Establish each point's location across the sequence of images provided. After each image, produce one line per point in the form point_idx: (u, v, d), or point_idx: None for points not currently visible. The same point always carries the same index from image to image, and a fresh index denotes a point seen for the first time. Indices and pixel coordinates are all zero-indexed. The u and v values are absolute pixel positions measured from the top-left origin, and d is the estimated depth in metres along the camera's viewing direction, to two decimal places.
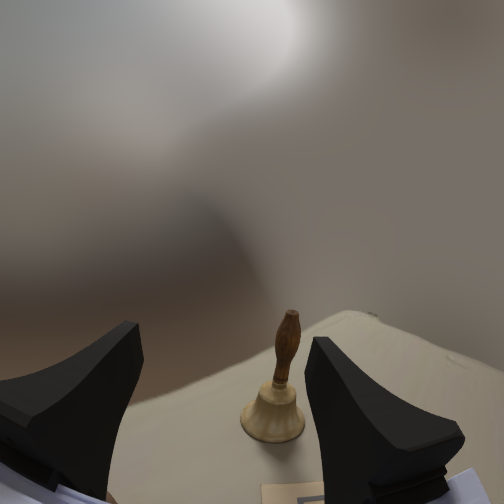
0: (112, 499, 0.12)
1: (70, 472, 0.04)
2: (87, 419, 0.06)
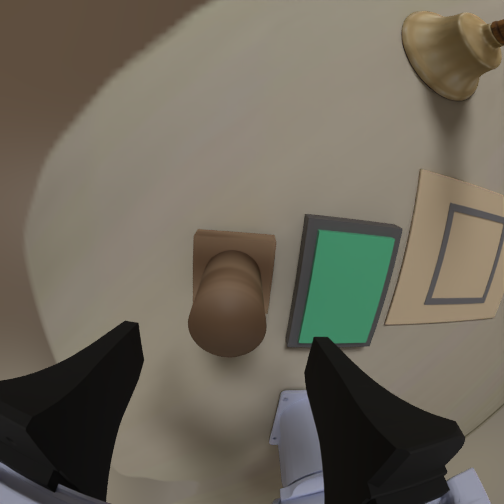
0: (259, 312, 0.13)
1: (70, 472, 0.04)
2: (87, 419, 0.06)
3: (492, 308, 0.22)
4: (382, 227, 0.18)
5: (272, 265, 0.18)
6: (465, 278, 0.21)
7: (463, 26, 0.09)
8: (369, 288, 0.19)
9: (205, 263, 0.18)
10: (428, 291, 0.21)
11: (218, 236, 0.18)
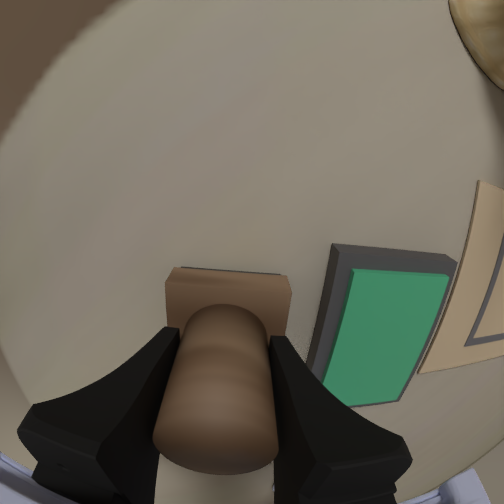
0: (268, 436, 0.06)
1: (129, 492, 0.05)
2: (141, 433, 0.06)
3: None
4: (435, 261, 0.12)
5: (285, 324, 0.12)
6: None
7: None
8: (410, 341, 0.13)
9: (184, 321, 0.12)
10: (470, 331, 0.15)
11: (202, 283, 0.11)
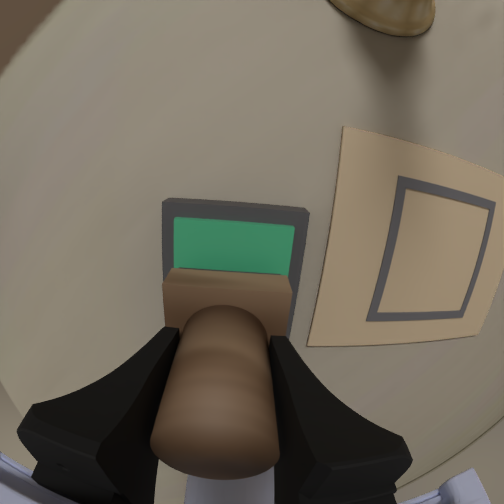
0: (268, 442, 0.06)
1: (129, 492, 0.05)
2: (141, 433, 0.06)
3: (474, 323, 0.18)
4: (274, 211, 0.13)
5: (285, 325, 0.11)
6: (431, 285, 0.16)
7: None
8: None
9: (183, 322, 0.11)
10: (371, 303, 0.16)
11: (200, 283, 0.11)
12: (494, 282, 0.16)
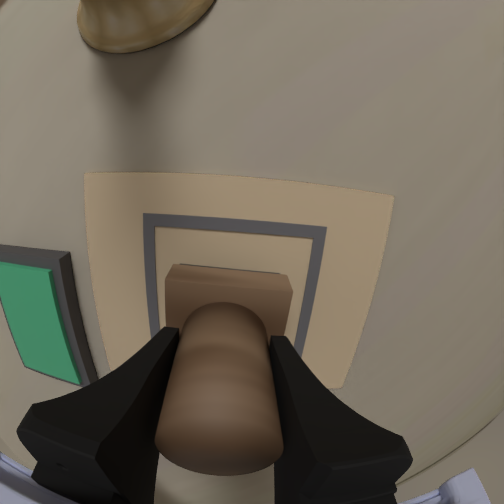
0: (274, 436, 0.06)
1: (128, 492, 0.05)
2: (141, 433, 0.06)
3: (328, 376, 0.17)
4: (38, 258, 0.13)
5: (284, 323, 0.12)
6: None
7: None
8: (48, 325, 0.14)
9: (183, 319, 0.11)
10: None
11: (202, 280, 0.11)
12: (351, 330, 0.16)
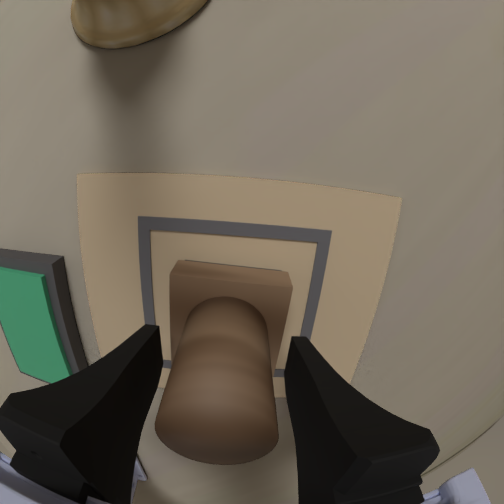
0: (269, 424, 0.07)
1: (99, 483, 0.04)
2: (114, 427, 0.06)
3: None
4: (31, 262, 0.12)
5: (285, 319, 0.12)
6: None
7: None
8: (42, 332, 0.13)
9: (187, 312, 0.12)
10: None
11: (206, 275, 0.12)
12: (356, 337, 0.15)
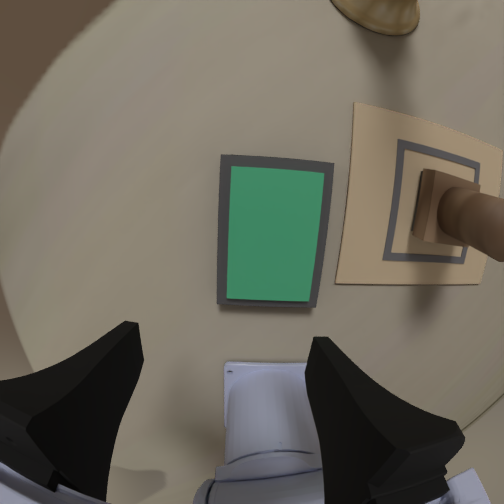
0: None
1: (70, 472, 0.04)
2: (87, 419, 0.06)
3: (475, 271, 0.21)
4: (308, 161, 0.17)
5: None
6: None
7: None
8: (300, 232, 0.18)
9: (440, 196, 0.16)
10: (385, 243, 0.20)
11: (448, 174, 0.16)
12: None
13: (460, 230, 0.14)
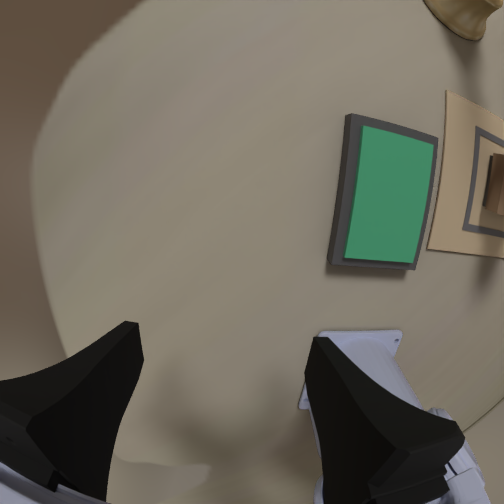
0: None
1: (70, 472, 0.04)
2: (87, 419, 0.06)
3: None
4: (420, 133, 0.16)
5: None
6: None
7: None
8: (414, 195, 0.17)
9: None
10: (465, 215, 0.19)
11: None
12: None
13: None
